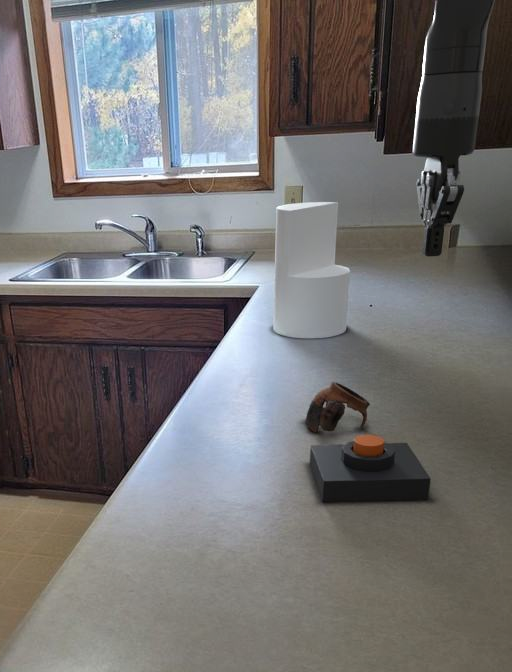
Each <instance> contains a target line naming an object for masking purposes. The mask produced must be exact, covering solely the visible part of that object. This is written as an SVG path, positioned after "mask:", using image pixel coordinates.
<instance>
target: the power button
mask: <svg viewBox="0 0 512 672" xmlns="http://www.w3.org/2000/svg"><path fill="white" fill-rule="evenodd" d="M353 441H354V448H353V452H355V453H357V454H359V455H364V456H378V455H381V454H383V449H384V443H385V440H384V438H382V437H381V436H378V435H374V434H360V435H358V436H356V437H354V439H353Z"/></svg>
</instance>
